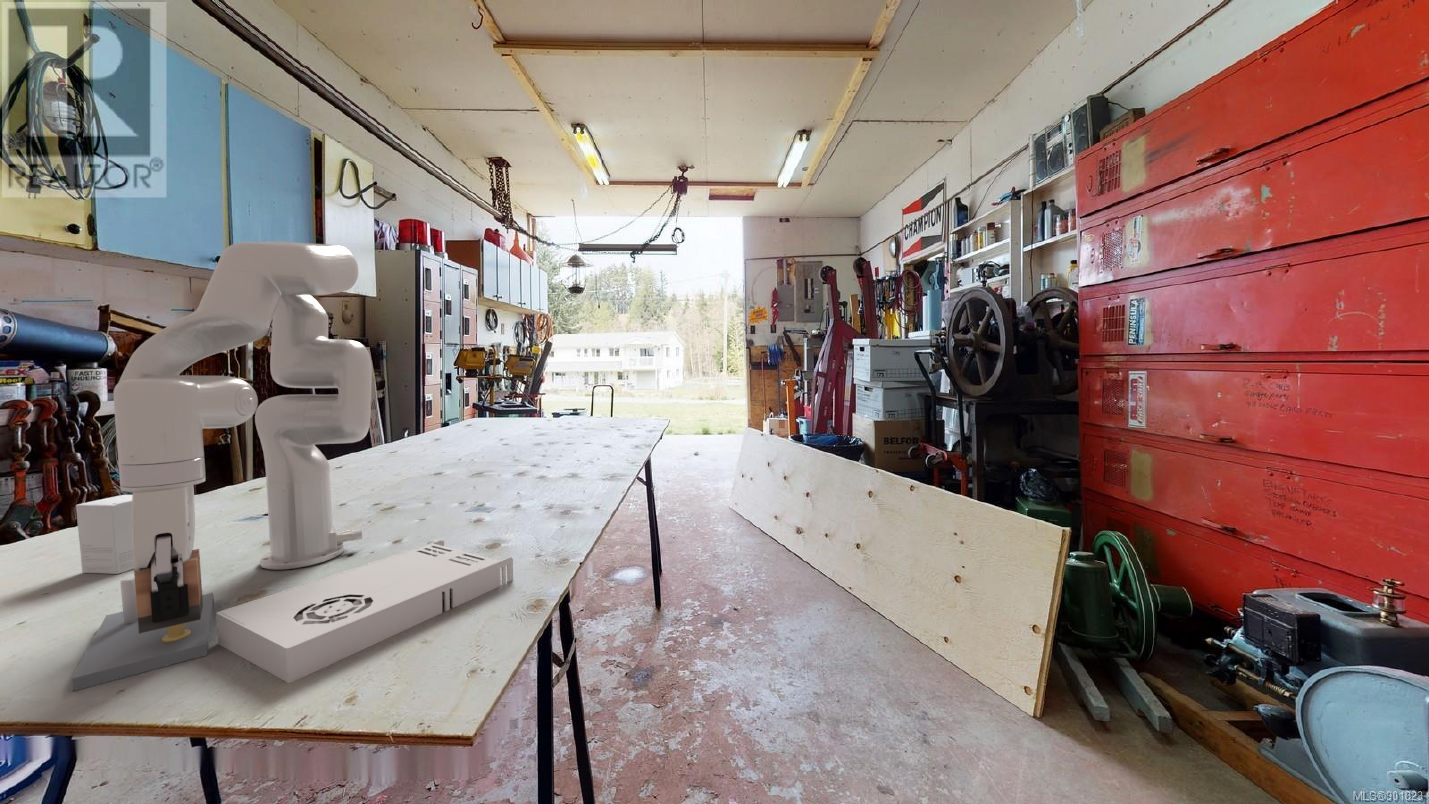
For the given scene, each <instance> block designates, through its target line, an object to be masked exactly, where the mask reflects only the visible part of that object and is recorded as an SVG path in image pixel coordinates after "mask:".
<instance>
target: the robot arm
mask: <svg viewBox="0 0 1429 804" xmlns="http://www.w3.org/2000/svg"><path fill="white" fill-rule="evenodd" d="M358 276H359V266H358V262H357V259H356V257H355V256H354V255H353V253H352V252H351V251H350V250H349V249H347V247H345V246H342V245H338V244H324V243H311V242H310V243H308V242H307V243H306V242H291V241H260V242H259V241H241V242H236V243H232V244H231V245H229V246H227V247H226V248H225V249H224V250H223V252H222V253H221V255H220V257H219V259H218V262H217V264H216V267H215V269H214V271H213V273H212V275H211V277H210V280H209V281H208V284H207V286H206V289H205V291H204V293H203V296H202V297H201V300H200V302H199V305H198V306H197V308H196V310H195V311H193V312H192V313H190V314H188V315H186V316H183V317H181V318H179V319H177V320H176V321H174V322H172V323H171V324H170V325H169V324H168V325H167V326H166V327H165V328H163V329H161V330H159V331H158V332H156V333H155V334H153V335H152V336H150V337H149V338H148V339H146V340H144V342H142V343H141V344H140V345H139V346H138V347H137V348H136V350H134V351H133V353H132V354H131V356H130V358H129V360H128V361H127V363H126V366H125V368H124V370H123V372H122V374H121V376H120V378H119V381H118V383H116V385H115V386H114V389H113V407H114V421H115V432H116V434H115V435H116V447H117V458H118V472H119V475H118V476H119V485H120V491H122V492H128V493H130V492H132V495H133V496H132V540H133V569H132V570H133V571H134V570H136V571H142V569H143V568H146V567H147V566H148V564H149V562H150V560H151V581H152V591H151V592H150V596H151V610H152V621H153V622H154V623H158V622H162V621H167V620H171V619H175V618H180V617H184V616H187V615H188V614H189V600H188V585H187V584H184V566H183V565H184V563H185V562H187V561H188V560H189V559H190V557H191V554H192V551H193V550H194V544H195V534H196V507H195V505H196V504H195V490H194V485H199V484H202V483H204V482H206V479H207V478H206V463H205V451H204V435H203V430H204V429H228V428H233V427H236V426H239V425H241V424H245V422H247V421H249V420H251V418H252V417H253V415H255V416H254V423H255V427H256V431H257V435H258V437H259V439H260V440H259V441H260V445H261V448H262V451H263V459H264V468H265V481H266V498H267V499H266V500H267V516H268V530H269V531H268V532H269V533H268V534H269V549H270V552H268V553H266V554H264V555H263V556H262V557H260V559H259V565H260V567H261V568H264V569H267V570H274V571H275V570H279V571H280V570H292V569H300V568H303V567H304V568H305V567H309V566H313V565H317V564H320V563H324V562H327V561H329V560H332V559H334V558H336V557H338V556H340V555H341V554H342V553H343V552H344V543H345V542H350V541H351V542H352V541H358V540H362V539H363V531H362V529H356V530H353V529H347V530H343V531H338V530H336V528H335V527H334V526H333V508H332V507H333V506H332V487H331V467H330V464H329V461H328V459H327V458H326V456H325V455H324V454H323V453H322V451H321V450H320V449H319V448H318V447H317V446H316V445H329V444H330V445H331V444H332V445H334V444H353V443H357V442H360V441H362V440H364V439H365V437H366V436H367V434H368V432H369V429H370V424H371V415H372V414H371V410H372V409H371V408H372V383H373V382H372V380H373V378H372V377H373V372H372V371H373V366H372V359H371V355H370V353H369V351H368V349H367V348H366V346H365V345H364V344H362V343H361V342H359V341H356V340H352V339H343V338H342V339H334V338H333V339H332V338H329V321H330V320H329V316H328V313H327V312H326V310H325V309H324V308H323V306H322V305H321V304H320V303H319V302H318V300H317V299H316V298H314V297H313V296H327V295H333V294H337V293H343V292H346V291H349V290H350V289H352V288H353V287H354V286H355V284H356V282H357V281H358ZM271 325H272V326H271ZM270 326H271V327H272V330H271V343H270V344H271V345H270V358H269V359H270V360H269V361H270V363H269V365H270V369H269V370H270V375H271V377H272V380H273V381H274V382H275V383H276V384H278V385H279V386H282V387H285V388H294V389H297V388H298V389H337V390H338V393H337V394H336V393H335V394H315V393H312V394H309V393H308V394H305V393H304V394H303V393H302V394H297V393H296V394H281V395H277V396H273V397H269V398H267V399H265V400H263V401H262V403H260V404H259V402H258V401H259V399H258V398H259V397H258V395H257V392H256V390H255V389H254V387H252V385H250V384H249V383H248V382H247V381H245V380H243V379H240V378H239V377H234V376H228V375H227V376H226V375H195V374H194V375H188V374H187V375H185V374H183V375H180V374H182V372H184V370H186V369H187V368H189V367H190V366H191V365H193V364H195V363H197V362H198V361H201V360H203V359H205V358H207V357H210V356H213V355H216V354H219V353H223V352H226V351H230V350H233V349H236V348H239V347H243V346H245V345H248V344H252V343H254V342H256V341H259V340H261V339H262V338H263V337H265V336H266V335H267V334H268V332H269V330H270ZM258 404H259V405H258ZM173 558H178V562H175V563H172V559H173ZM172 568H177V573H176V571H172Z"/></svg>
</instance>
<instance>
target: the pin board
mask: <svg viewBox="0 0 1429 804" xmlns="http://www.w3.org/2000/svg"><path fill="white" fill-rule="evenodd" d="M120 590H121V591H120V592H121V602H122V603H121V604H122V611H120V612H116V613H112V614H106V615H105V617H104V619H103V620H102V623H101V624H100V626H99V628H98V629H97V632H96V633H95V635H94V637H93V639H92V640H91V643H90V644H89V646H88V648H87V650H86V652H85V653H84V656H83V657H82V659H81V661H80V663H79V665H78V666H77V668H76V670H75V672H74V674H73V676H72V677H71V688H72V692H74V691H78V690H82V689H85V688H89V687H93V686H96V685H101V684H104V683H107V682H108V681H109V682H112V681H116V680H118V679H117V678H120V679H123V678H126V677H130V676H133V675H134V674H135V675H137V674H141V673H145V672H144V671H146V672H149V671H153V670H156V669H159V668H163V667H167V666H171V664H172V665H174V663H175V664H178V663H183V662H186V661H189V660H193V659H197V658H200V657H205V656H207V655H208V653H207V652H209V646H210V645H209V643H210V637H211V636H210V635H211V629H212V622H213V621H212V620H213V612H214V605H215V596H214V592H210V593H205V594H202V598H203V608H202V613H201V619H200V620H195V621H191V622H187V623H183V624H178V625H174V626H170V627H165V628H161V629H157V630H153V631H148V632H144V633H140V634H139V628H138V615H137V602H136V588H135V576H134V577H127V578H124V579H122V580H120ZM122 677H123V678H122ZM115 679H116V680H115ZM111 680H112V681H111ZM109 682H108V683H109Z"/></svg>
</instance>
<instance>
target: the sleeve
mask: <svg viewBox="0 0 1429 804" xmlns="http://www.w3.org/2000/svg"><path fill="white" fill-rule="evenodd" d="M200 555H201V554H200V548H197V549H196V548H195V549H193V551H192V554H191V557H190V559H189V560H188V561H187V562H185V563H184V565H183V566H184V584H187V585H188V600H189V614H188V615H187V616H184V617H180V618H175V619H171V620H167V621H162V622H158V623H154V622H153V621H152V610H151V596H150V592H151V591H152V581H151V560H150V562H149V564H148V566H147V567H146V568H143V569H142V571H136V570H134V569H133V574H134V577H135V588H136V602H137V615H138V628H139V634H140V633H144V632H148V631H153V630H157V629H161V628H165V627H170V626H174V625H178V624H183V623H187V622H191V621H195V620H200V619H201V613H202V608H203V598H202V595H203V587H202V572H201V557H200ZM175 562H178V558H173V559H172V563H175ZM172 571H176V573H177V568H172Z"/></svg>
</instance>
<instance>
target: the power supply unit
mask: <svg viewBox="0 0 1429 804" xmlns="http://www.w3.org/2000/svg"><path fill="white" fill-rule="evenodd" d="M510 580H512V581H513V580H514V559H513V557H512V556H508V557H506V558H503V559H501V560H499V559H494V558H490V557H486V556H485V555H484V556H483V555H480V554H479V555H478V554H475V553H471V552H467V551H465V550H464V551H463V550H460V549H456V548H453V547H448V546H446V545H445V540H442V539H439V540H436V541H434V542H433V541H432V542H430V543H427V544H424V545H421V546H417V547H415V548H411V549H408V550H405V551H402V552H399V553H396V554H393V555H390V556H386V557H384V558H381V559H378V560H374V561H371V562H369V563H365V564H362V565H359V566H356V567H353V568H349V569H346V570H343V571H340V572H337V573H335V574H331V575H328V576H325V577H322V578H318V579H316V580H315V579H314V580H312V581H310V582H307V583H305V584H300V585H297V586H293V587H291V588H287V589H285V590H282V591H279V592H275V593H273V594H270V595H266V596H263V597H260V598H257V599H254V600H251V601H248V602H245V603H241V604H238V605H236V606H232V607H229V608H226V609H223V610H220V611H217V612H216V614H215V615H216V627H217V640H218V641H217V643H218V645H220V646H221V647H223V648H225V649H226V650H229V651H230V652H232V653H233V654H236V655H237V656H239V657H241V658H243V659H245V660H247V661H248V662H250V663H252V664H253V665H255V666H257V667H259V668H261V669H263V670H265V671H266V672H268V673H270V674H271V675H273V676H275V677H277V678H279V679H281V680H283V681H284V682H285V683H288V684H290V683H293V682H295V681H297V680H300V679H302V678H304V677H306V676H309V675H310V674H311V675H312V674H313V673H315V672H317V671H319V670H321V669H324V668H326V667H328V666H330V665H333V664H335V663H337V662H339V661H341V660H343V659H345V658H347V657H350V656H352V655H354V654H356V653H358V652H361V651H362V650H365V649H367V648H370V647H371V646H374V645H375V644H378V643H380V642H382V641H384V640H386V639H389V638H391V637H393V636H395V635H397V634H399V633H402V632H404V631H406V630H408V629H410V628H412V627H415V626H417V625H419V624H422V623H423V622H425V621H428V620H430V619H432V618H434V617H436V616H438V615H440V614H443V611H444V612H447V611H450V609H451V608H456V607H458V606H460V605H462V604H464V603H467V602H469V601H471V600H473V599H475V598H478V597H480V596H482V595H484V594H486V593H489V592H491V591H493V590H495V589H497V588H500V587H501V585H503V586H504V585H506V584H507V583H510V582H511V581H510ZM507 581H508V582H507ZM509 581H510V582H509ZM505 583H506V584H505ZM450 599H451V600H450ZM450 602H451V603H450ZM450 604H451V607H450ZM443 605H444V606H443ZM443 608H444V610H443Z"/></svg>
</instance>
